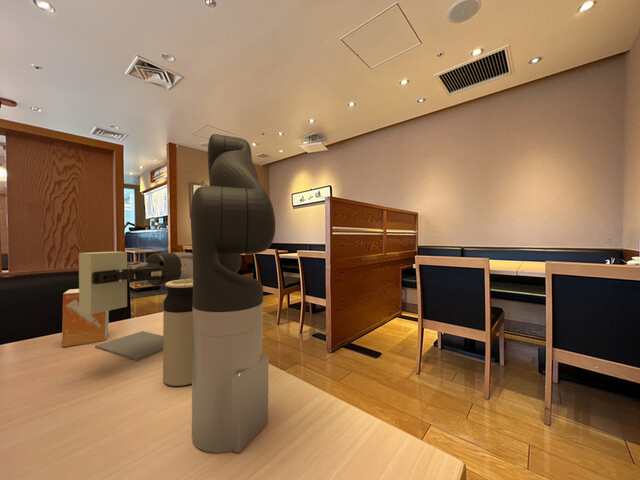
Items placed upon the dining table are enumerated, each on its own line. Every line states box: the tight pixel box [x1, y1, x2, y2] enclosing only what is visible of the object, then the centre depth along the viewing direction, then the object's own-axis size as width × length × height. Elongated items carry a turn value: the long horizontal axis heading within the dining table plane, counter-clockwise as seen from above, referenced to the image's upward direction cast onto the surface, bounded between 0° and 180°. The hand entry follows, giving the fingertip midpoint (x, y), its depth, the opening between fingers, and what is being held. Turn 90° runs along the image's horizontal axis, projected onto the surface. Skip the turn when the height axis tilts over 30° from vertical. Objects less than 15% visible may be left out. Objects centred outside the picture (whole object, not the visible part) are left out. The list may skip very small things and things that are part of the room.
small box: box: [61, 288, 110, 348], centre depth 66 cm, size 8×6×13 cm
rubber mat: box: [94, 330, 163, 362], centre depth 64 cm, size 16×11×1 cm
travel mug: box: [162, 279, 193, 387], centre depth 49 cm, size 8×8×18 cm
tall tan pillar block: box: [78, 251, 128, 314], centre depth 50 cm, size 4×6×11 cm, turn 155°
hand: (86, 277), depth 48 cm, fingers closed on tall tan pillar block, 4 cm apart
